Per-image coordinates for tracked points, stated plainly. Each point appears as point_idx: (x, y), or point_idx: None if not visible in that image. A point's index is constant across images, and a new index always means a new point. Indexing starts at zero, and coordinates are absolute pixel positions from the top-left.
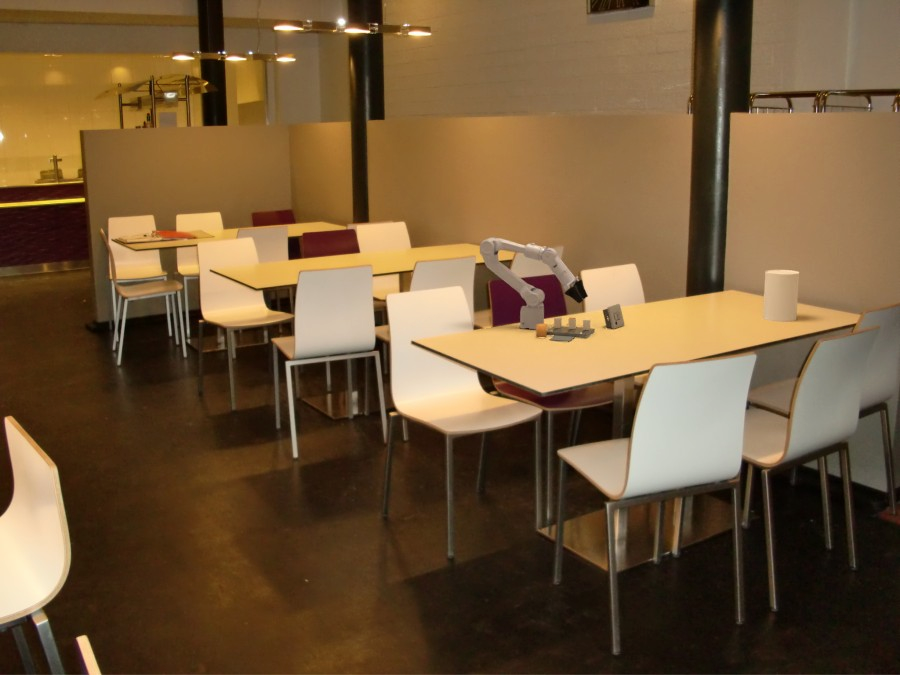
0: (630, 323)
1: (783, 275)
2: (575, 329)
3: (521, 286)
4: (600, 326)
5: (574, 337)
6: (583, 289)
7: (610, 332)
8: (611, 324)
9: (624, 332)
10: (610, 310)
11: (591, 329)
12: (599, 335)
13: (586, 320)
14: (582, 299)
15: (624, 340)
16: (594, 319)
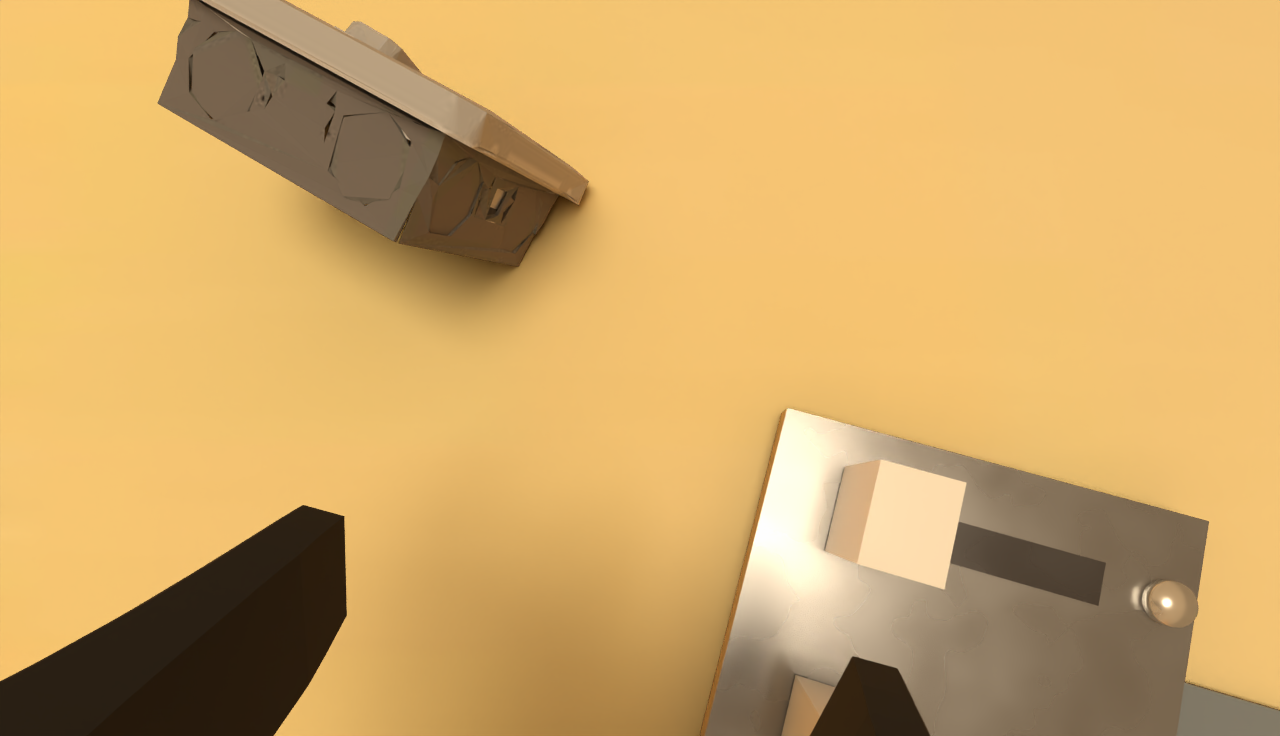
0: None
1: None
2: None
3: None
4: (424, 338)
5: (1208, 689)
6: (130, 711)
7: (767, 227)
8: (564, 192)
9: (753, 78)
10: (489, 112)
11: (847, 450)
12: (959, 355)
13: (953, 527)
14: (899, 693)
15: (1198, 80)
16: (10, 406)
